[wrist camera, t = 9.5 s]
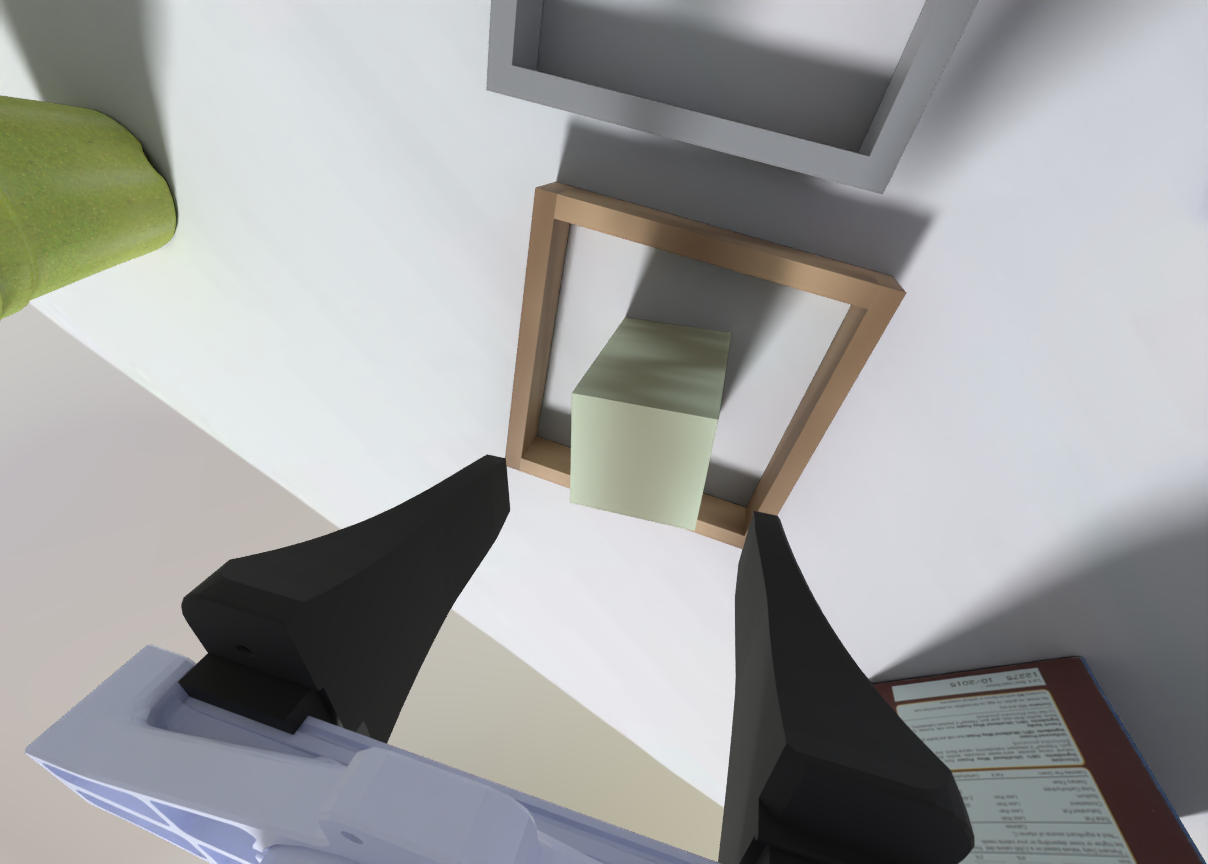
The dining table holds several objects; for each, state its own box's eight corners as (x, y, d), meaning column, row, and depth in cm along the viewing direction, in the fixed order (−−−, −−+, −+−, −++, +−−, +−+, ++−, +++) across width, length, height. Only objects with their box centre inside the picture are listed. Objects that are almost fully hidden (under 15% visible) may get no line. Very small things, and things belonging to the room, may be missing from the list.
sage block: (731, 332, 20) (718, 419, 14) (712, 424, 22) (694, 531, 16) (625, 317, 20) (571, 393, 15) (618, 407, 23) (569, 502, 17)
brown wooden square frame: (892, 276, 17) (906, 292, 15) (755, 524, 24) (754, 553, 23) (555, 181, 18) (535, 187, 17) (520, 443, 26) (504, 465, 24)
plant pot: (200, 123, 21) (-82, 126, 14) (217, 311, 27) (20, 381, 20) (6, 21, 21) (-376, -29, 14) (63, 230, 26) (-190, 271, 19)
